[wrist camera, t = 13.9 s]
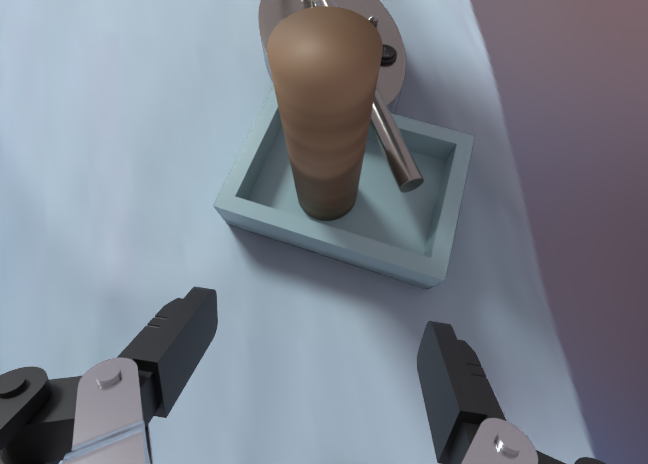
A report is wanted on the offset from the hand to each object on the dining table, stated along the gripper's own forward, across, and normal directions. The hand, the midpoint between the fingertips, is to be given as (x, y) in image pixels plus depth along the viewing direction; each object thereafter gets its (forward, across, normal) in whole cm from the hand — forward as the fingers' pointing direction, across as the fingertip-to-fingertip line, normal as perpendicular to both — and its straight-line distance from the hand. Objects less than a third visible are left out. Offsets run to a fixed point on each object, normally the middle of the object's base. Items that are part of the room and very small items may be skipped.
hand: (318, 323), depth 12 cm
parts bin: (+12, 0, +2) cm, 12 cm away
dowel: (+11, -1, +2) cm, 11 cm away
